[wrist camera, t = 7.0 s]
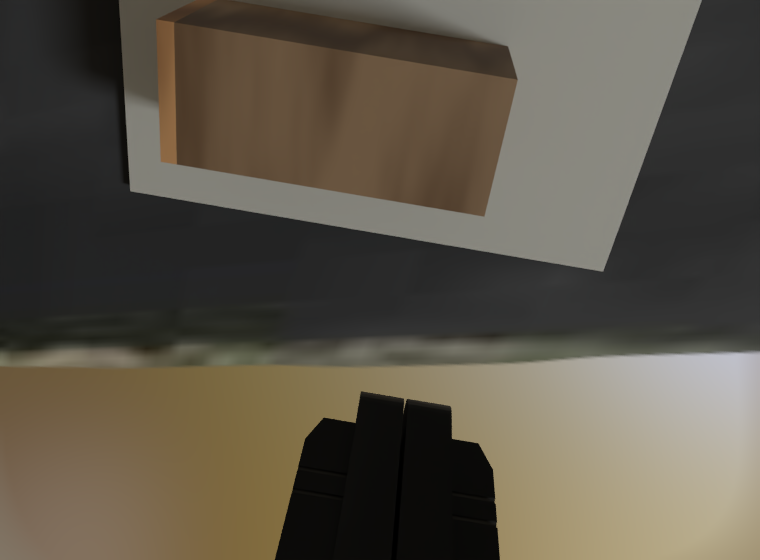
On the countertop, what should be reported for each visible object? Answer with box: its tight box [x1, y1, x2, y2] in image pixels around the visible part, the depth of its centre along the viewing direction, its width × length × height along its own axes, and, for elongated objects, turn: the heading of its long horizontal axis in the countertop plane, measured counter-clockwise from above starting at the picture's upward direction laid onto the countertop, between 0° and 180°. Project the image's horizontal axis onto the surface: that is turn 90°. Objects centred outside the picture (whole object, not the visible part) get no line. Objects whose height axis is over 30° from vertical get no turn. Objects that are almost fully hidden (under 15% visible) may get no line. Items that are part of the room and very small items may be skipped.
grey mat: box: [119, 0, 702, 271], centre depth 28 cm, size 22×13×1 cm, turn 82°
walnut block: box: [156, 0, 518, 217], centre depth 26 cm, size 5×5×12 cm
